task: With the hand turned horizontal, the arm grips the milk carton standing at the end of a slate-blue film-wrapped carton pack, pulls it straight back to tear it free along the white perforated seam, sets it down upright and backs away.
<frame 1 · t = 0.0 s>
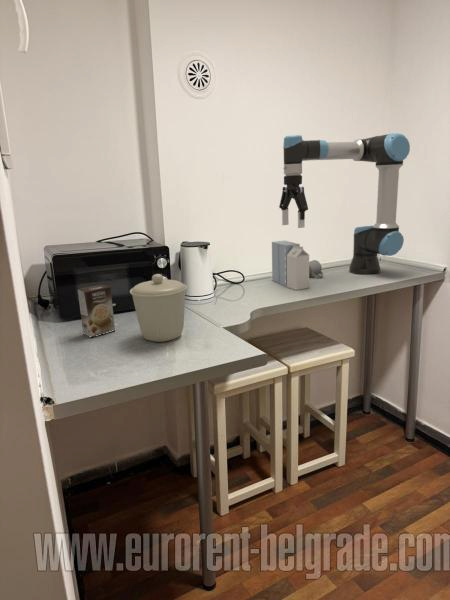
hand: (293, 226, 185), 28 cm above the table, tool pointing down, fingers open, 13 cm apart
milk carton: (297, 288, 195), on the table
grey skull: (313, 276, 215), on the table
pack: (285, 282, 205), on the table
coffee box: (99, 333, 148), on the table
canister: (162, 337, 142), on the table
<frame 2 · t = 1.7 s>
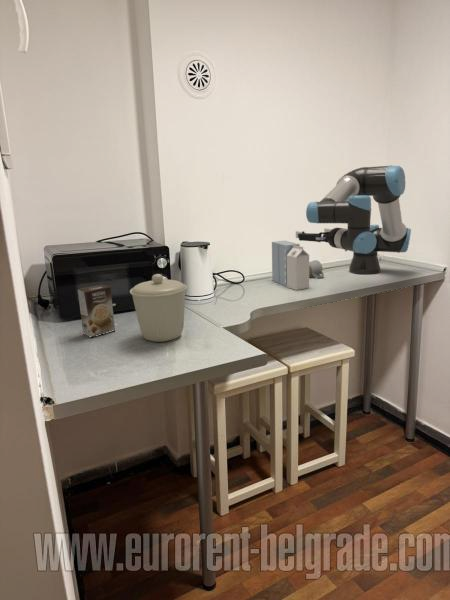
hand: (310, 233, 178), 26 cm above the table, tool horizontal, fingers open, 13 cm apart
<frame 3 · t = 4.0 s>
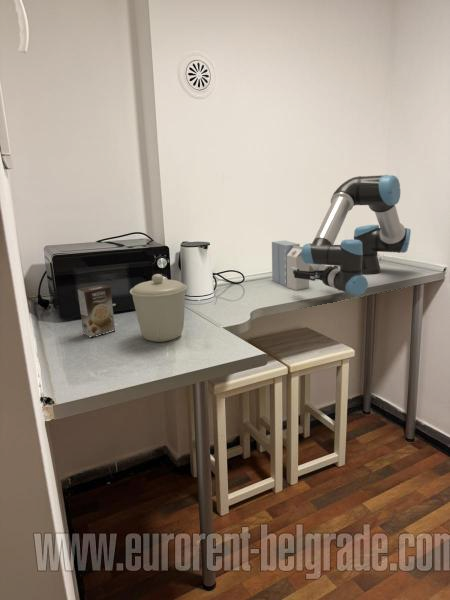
hand: (305, 268, 185), 10 cm above the table, tool horizontal, fingers open, 13 cm apart
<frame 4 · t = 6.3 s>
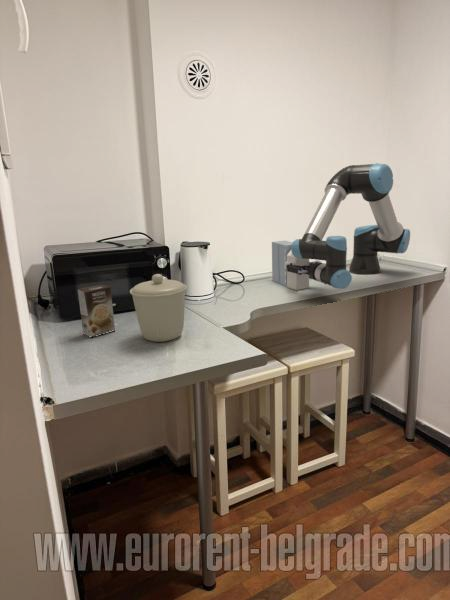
hand: (293, 263, 195), 11 cm above the table, tool horizontal, fingers closed on milk carton, 8 cm apart
milk carton: (297, 288, 195), on the table, touching gripper
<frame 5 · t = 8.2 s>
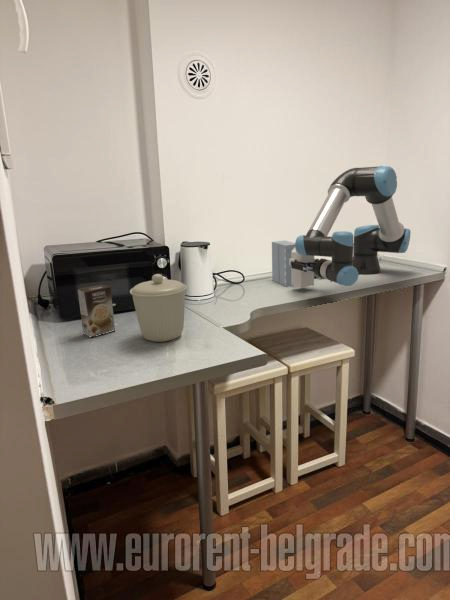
hand: (298, 260, 191), 13 cm above the table, tool horizontal, fingers closed on milk carton, 8 cm apart
milk carton: (302, 285, 190), point 2 cm above the table, touching gripper
when the fingers open (11 cm above the table, at t = 9.9 s): milk carton stays where it is, on the table.
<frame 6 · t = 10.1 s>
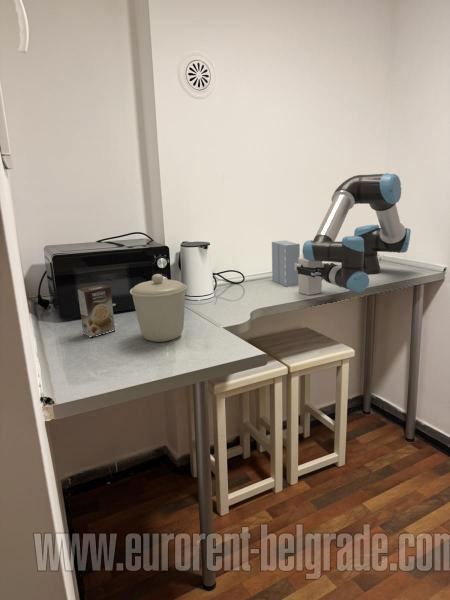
hand: (305, 265, 186), 11 cm above the table, tool horizontal, fingers open, 9 cm apart
milk carton: (309, 293, 186), on the table
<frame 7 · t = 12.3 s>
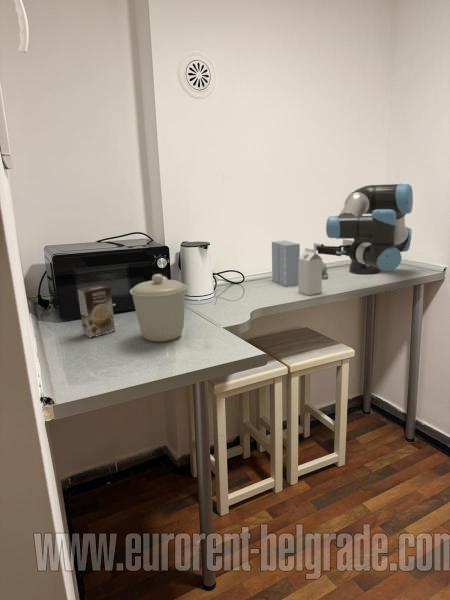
hand: (329, 244, 172), 22 cm above the table, tool horizontal, fingers open, 13 cm apart
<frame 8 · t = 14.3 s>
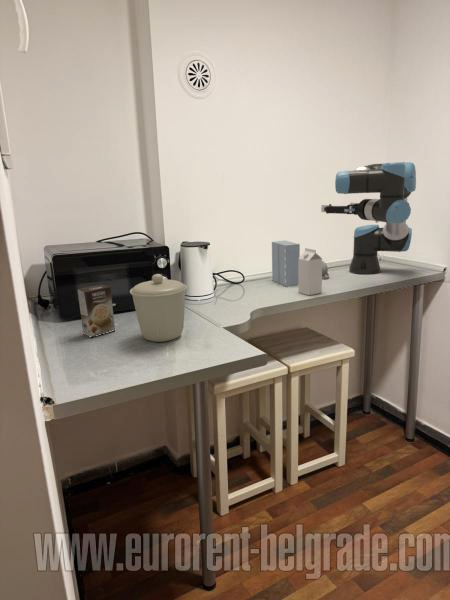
hand: (336, 207, 173), 36 cm above the table, tool horizontal, fingers open, 13 cm apart
at the end: milk carton moved 10.1 cm from its start; milk carton touching table; milk carton tilted 0° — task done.
